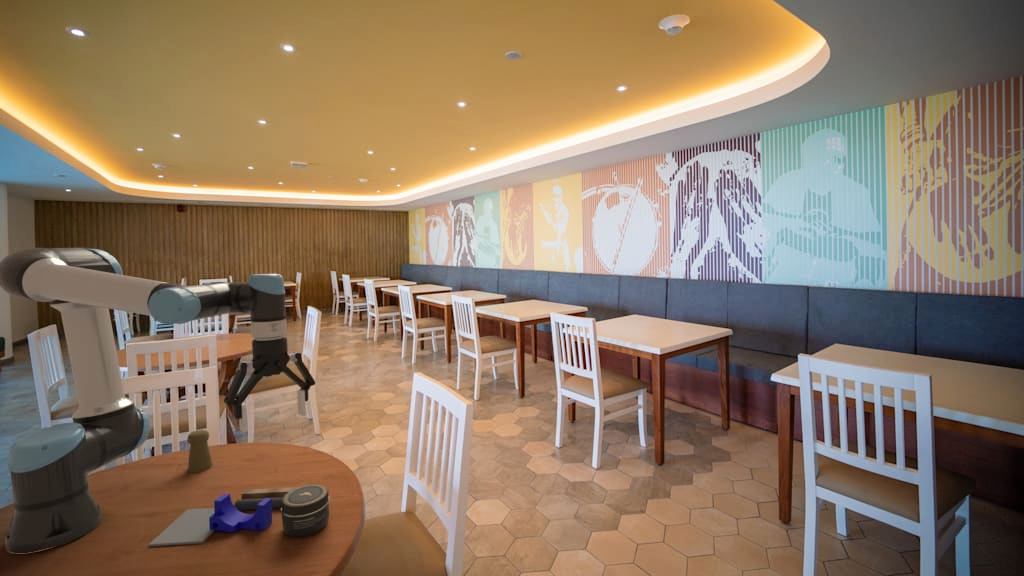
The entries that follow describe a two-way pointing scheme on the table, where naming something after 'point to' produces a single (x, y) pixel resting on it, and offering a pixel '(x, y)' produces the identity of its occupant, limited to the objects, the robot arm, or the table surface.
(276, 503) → the rod
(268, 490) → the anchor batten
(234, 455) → the table surface
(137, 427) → the robot arm
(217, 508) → the cable clip
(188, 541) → the mat
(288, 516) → the jar
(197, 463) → the cork
